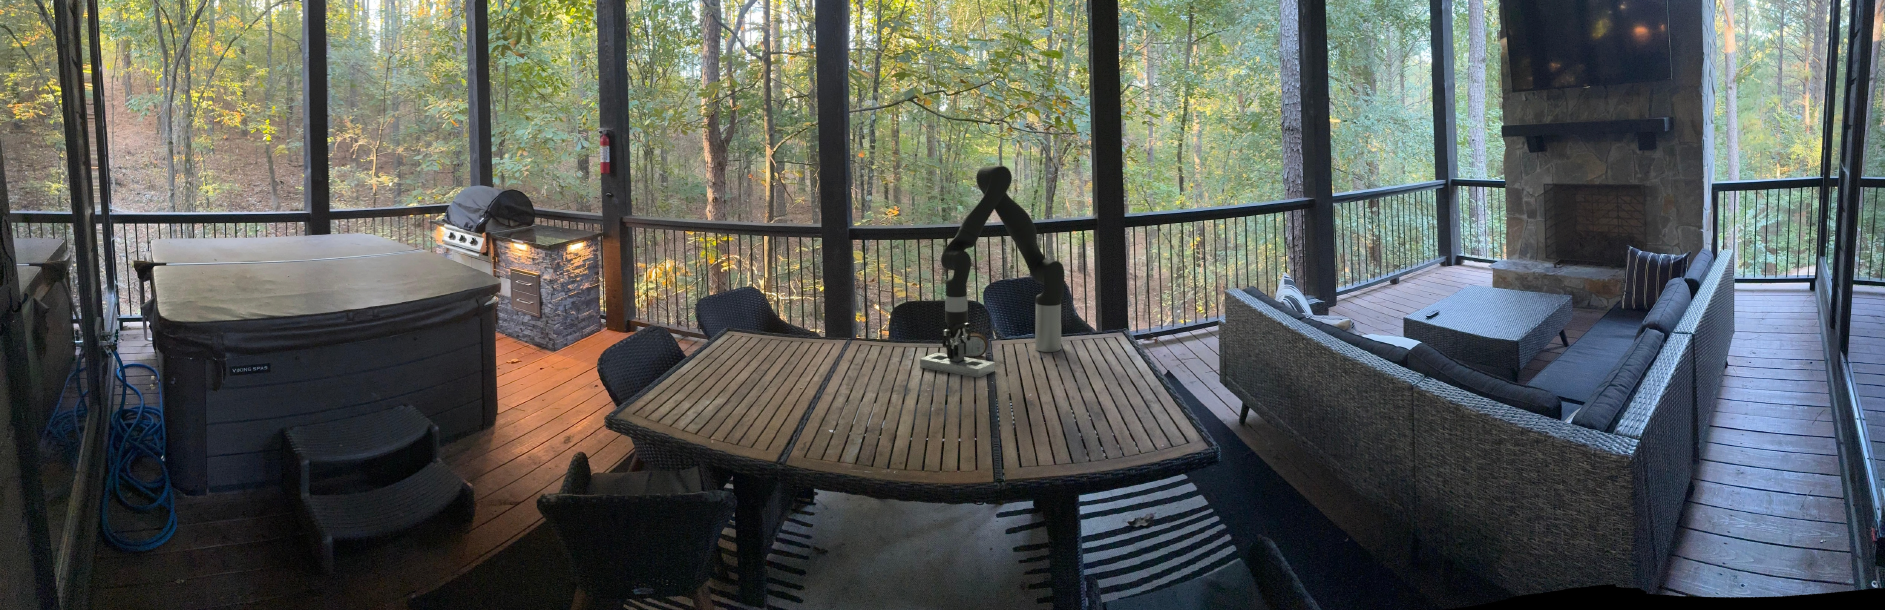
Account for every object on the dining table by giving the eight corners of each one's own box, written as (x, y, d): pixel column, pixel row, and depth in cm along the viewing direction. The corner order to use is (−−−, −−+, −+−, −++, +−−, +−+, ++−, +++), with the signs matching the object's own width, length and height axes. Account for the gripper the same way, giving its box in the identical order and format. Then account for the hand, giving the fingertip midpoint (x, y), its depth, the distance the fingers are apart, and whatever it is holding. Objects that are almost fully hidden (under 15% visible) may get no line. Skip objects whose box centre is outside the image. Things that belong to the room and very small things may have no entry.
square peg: (955, 367, 311) (955, 341, 309) (964, 368, 309) (964, 343, 307) (949, 369, 308) (949, 343, 306) (958, 371, 306) (958, 345, 304)
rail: (936, 360, 319) (936, 352, 318) (994, 370, 305) (994, 362, 305) (920, 367, 311) (919, 358, 311) (978, 377, 297) (978, 369, 297)
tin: (987, 355, 326) (987, 332, 324) (987, 357, 322) (987, 334, 321) (946, 355, 327) (945, 332, 325) (945, 357, 324) (945, 334, 322)
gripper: (953, 313, 296) (953, 362, 300) (977, 306, 308) (977, 353, 311) (934, 311, 300) (935, 359, 304) (959, 303, 312) (959, 350, 315)
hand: (956, 356), depth 307 cm, fingers open, 7 cm apart
